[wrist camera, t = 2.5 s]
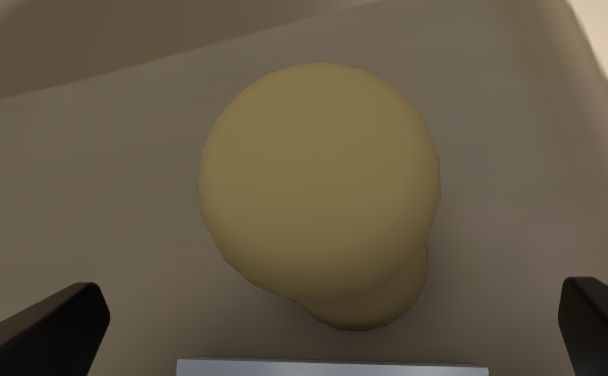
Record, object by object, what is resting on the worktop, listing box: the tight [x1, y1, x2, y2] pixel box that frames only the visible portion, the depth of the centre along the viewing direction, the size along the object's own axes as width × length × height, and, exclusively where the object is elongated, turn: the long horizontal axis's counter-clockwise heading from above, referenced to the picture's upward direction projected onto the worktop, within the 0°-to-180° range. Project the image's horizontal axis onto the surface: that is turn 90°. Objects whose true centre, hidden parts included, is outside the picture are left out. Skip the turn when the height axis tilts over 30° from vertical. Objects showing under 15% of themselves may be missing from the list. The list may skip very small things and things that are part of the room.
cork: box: [197, 62, 441, 331], centre depth 13 cm, size 6×6×11 cm
